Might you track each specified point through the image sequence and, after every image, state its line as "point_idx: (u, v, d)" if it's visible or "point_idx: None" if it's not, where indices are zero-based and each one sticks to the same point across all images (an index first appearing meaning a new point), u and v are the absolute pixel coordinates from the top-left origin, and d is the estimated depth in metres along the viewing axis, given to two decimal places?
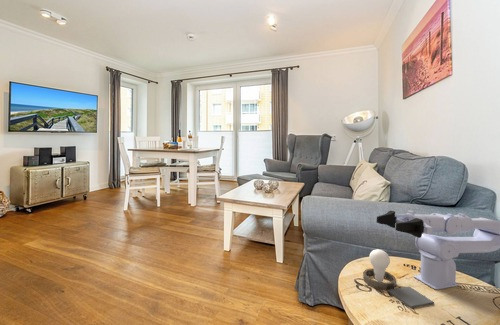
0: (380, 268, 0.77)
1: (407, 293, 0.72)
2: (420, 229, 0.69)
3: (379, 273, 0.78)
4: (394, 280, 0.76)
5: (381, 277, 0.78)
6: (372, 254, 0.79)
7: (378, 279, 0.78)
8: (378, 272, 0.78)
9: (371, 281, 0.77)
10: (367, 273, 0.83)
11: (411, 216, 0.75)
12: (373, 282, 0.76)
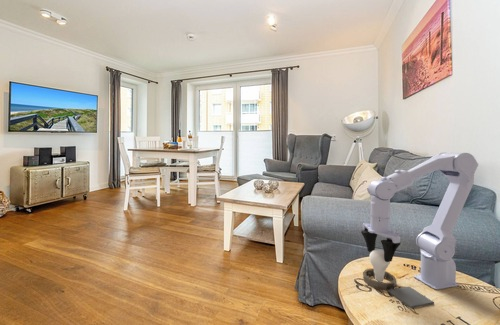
0: (380, 268, 0.77)
1: (407, 293, 0.72)
2: (394, 243, 0.73)
3: (379, 273, 0.78)
4: (394, 280, 0.76)
5: (381, 277, 0.78)
6: (372, 254, 0.79)
7: (378, 279, 0.78)
8: (378, 272, 0.78)
9: (371, 281, 0.77)
10: (367, 273, 0.83)
11: None
12: (373, 282, 0.76)
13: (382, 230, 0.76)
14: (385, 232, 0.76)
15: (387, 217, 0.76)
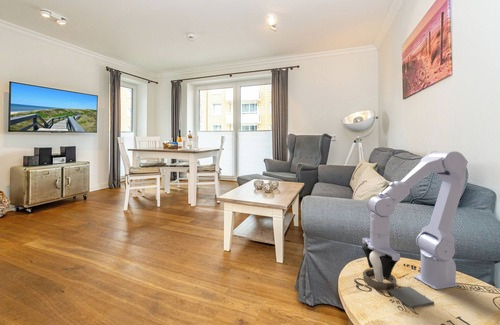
0: (380, 268, 0.77)
1: (407, 293, 0.72)
2: (392, 260, 0.74)
3: (379, 273, 0.78)
4: (394, 280, 0.76)
5: (381, 277, 0.78)
6: (372, 254, 0.79)
7: (378, 279, 0.78)
8: (378, 272, 0.78)
9: (371, 281, 0.77)
10: (367, 273, 0.83)
11: None
12: (373, 282, 0.76)
13: (382, 247, 0.76)
14: (385, 249, 0.76)
15: (387, 234, 0.76)
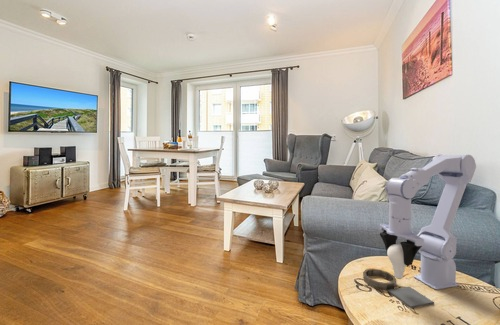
0: (400, 264, 0.71)
1: (407, 293, 0.72)
2: (415, 246, 0.68)
3: (399, 270, 0.72)
4: (394, 280, 0.76)
5: (401, 274, 0.72)
6: (391, 250, 0.73)
7: (398, 276, 0.73)
8: (398, 268, 0.72)
9: (371, 281, 0.77)
10: (367, 273, 0.83)
11: None
12: (373, 282, 0.76)
13: (403, 232, 0.70)
14: (406, 234, 0.70)
15: (410, 217, 0.70)
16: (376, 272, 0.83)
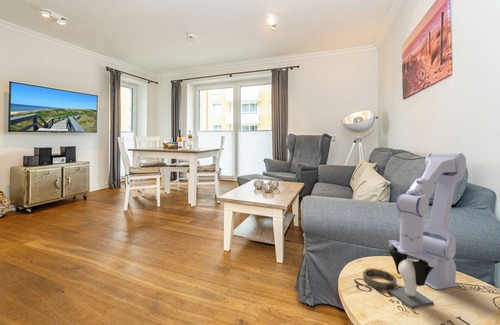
0: (413, 281, 0.68)
1: None
2: (427, 266, 0.65)
3: (411, 286, 0.69)
4: (394, 280, 0.76)
5: (413, 291, 0.69)
6: (402, 265, 0.70)
7: (410, 293, 0.69)
8: (410, 285, 0.69)
9: (371, 281, 0.77)
10: (367, 273, 0.83)
11: None
12: (373, 282, 0.76)
13: (415, 251, 0.67)
14: (418, 253, 0.67)
15: (422, 235, 0.68)
16: (376, 272, 0.83)
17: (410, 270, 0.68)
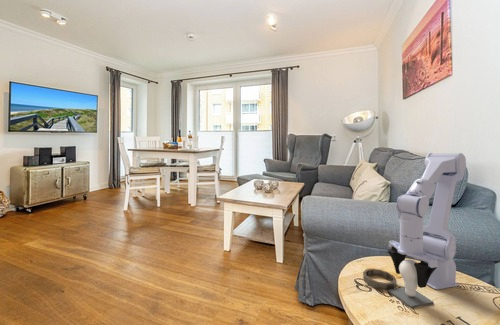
0: (413, 281, 0.68)
1: None
2: None
3: (411, 287, 0.69)
4: (394, 280, 0.76)
5: (413, 291, 0.69)
6: (403, 265, 0.70)
7: (410, 293, 0.69)
8: (411, 285, 0.69)
9: (371, 281, 0.77)
10: (367, 273, 0.83)
11: None
12: (373, 282, 0.76)
13: (415, 251, 0.67)
14: (418, 254, 0.67)
15: (422, 235, 0.68)
16: (376, 272, 0.83)
17: (411, 270, 0.68)
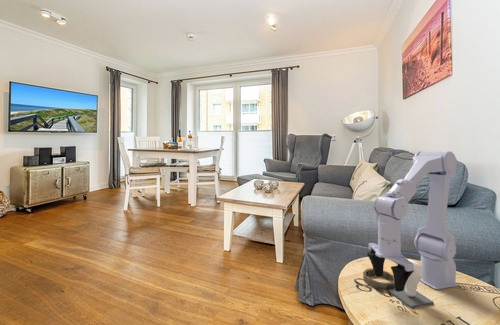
0: (413, 281, 0.68)
1: None
2: None
3: (411, 287, 0.69)
4: None
5: (413, 291, 0.69)
6: None
7: (410, 293, 0.69)
8: (410, 285, 0.69)
9: (371, 281, 0.77)
10: (367, 273, 0.83)
11: None
12: (373, 282, 0.76)
13: (392, 254, 0.65)
14: (396, 257, 0.65)
15: (400, 238, 0.66)
16: None
17: None
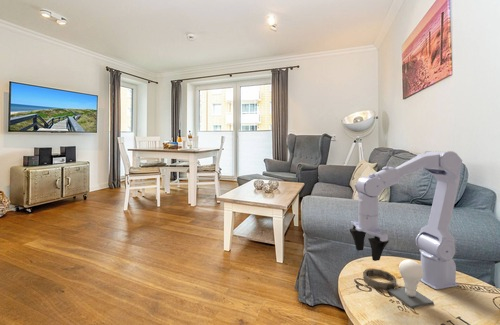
0: (413, 281, 0.68)
1: None
2: (381, 242, 0.71)
3: (411, 287, 0.69)
4: (394, 280, 0.76)
5: (413, 291, 0.69)
6: (403, 265, 0.70)
7: (410, 293, 0.69)
8: (411, 285, 0.69)
9: (371, 281, 0.77)
10: (367, 273, 0.83)
11: None
12: (373, 282, 0.76)
13: (370, 228, 0.73)
14: (373, 230, 0.73)
15: (375, 214, 0.74)
16: (376, 272, 0.83)
17: (411, 270, 0.68)
